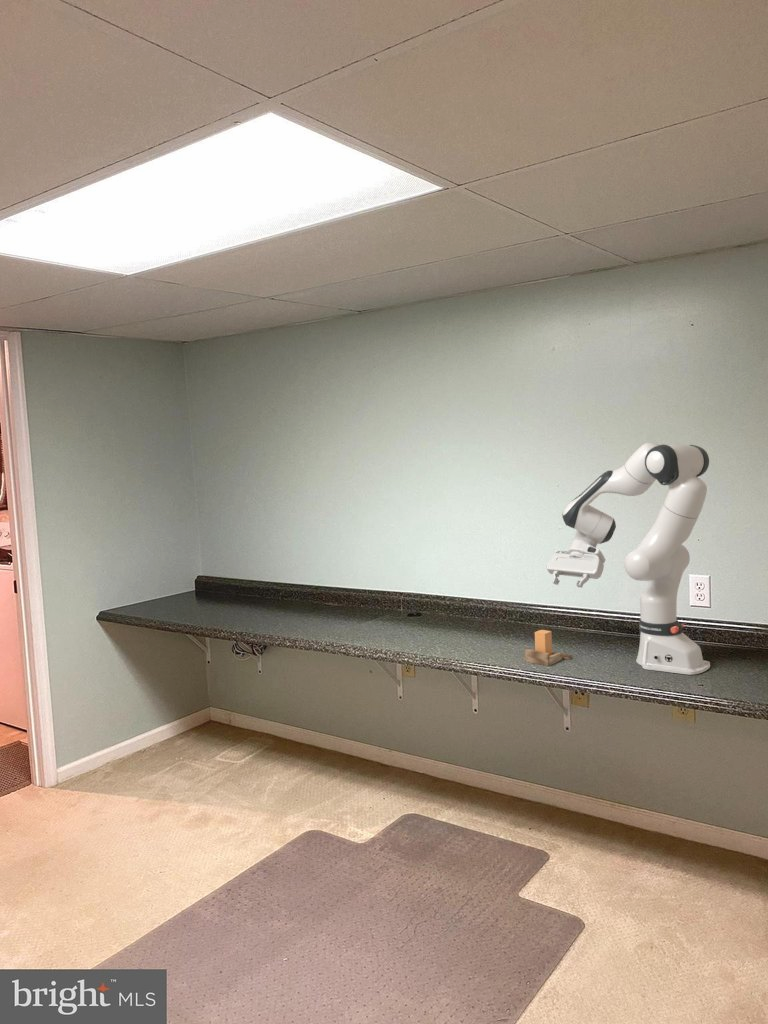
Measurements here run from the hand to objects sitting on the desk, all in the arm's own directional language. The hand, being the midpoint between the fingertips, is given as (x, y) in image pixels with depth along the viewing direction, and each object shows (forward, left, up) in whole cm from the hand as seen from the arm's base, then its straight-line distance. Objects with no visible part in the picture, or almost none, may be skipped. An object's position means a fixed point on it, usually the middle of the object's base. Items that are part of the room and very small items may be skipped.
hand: (566, 585), depth 269 cm
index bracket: (0, +15, -23) cm, 28 cm away
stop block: (0, +15, -23) cm, 28 cm away
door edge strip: (0, +9, -23) cm, 25 cm away
